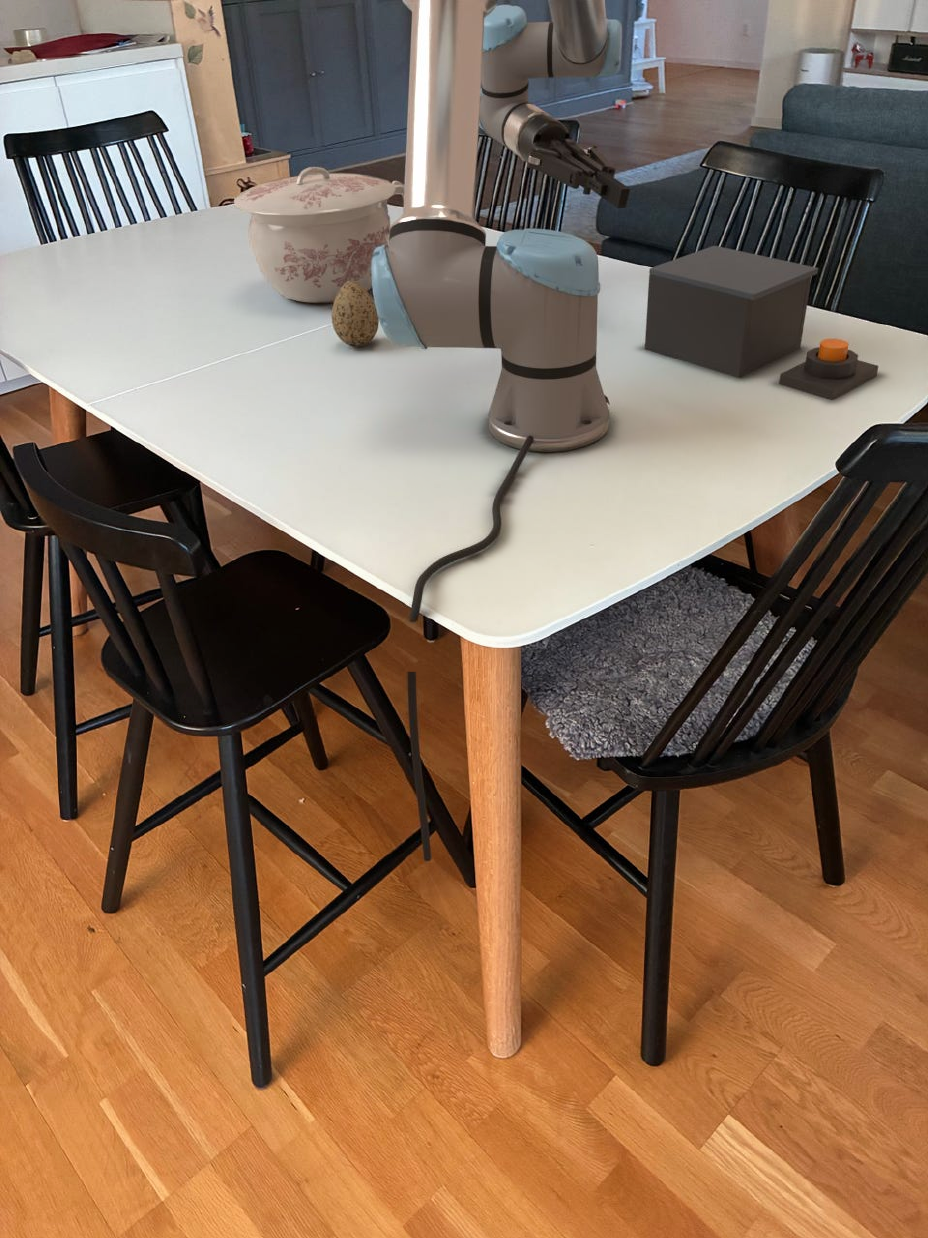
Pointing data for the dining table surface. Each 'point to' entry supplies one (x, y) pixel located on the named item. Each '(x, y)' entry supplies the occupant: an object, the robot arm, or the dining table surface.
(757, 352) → the dark grey box
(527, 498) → the dining table surface
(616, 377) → the dining table surface
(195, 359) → the dining table surface
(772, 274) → the dark grey box lid
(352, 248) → the chamber pot
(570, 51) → the robot arm
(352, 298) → the decorative egg
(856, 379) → the control block
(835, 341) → the button
